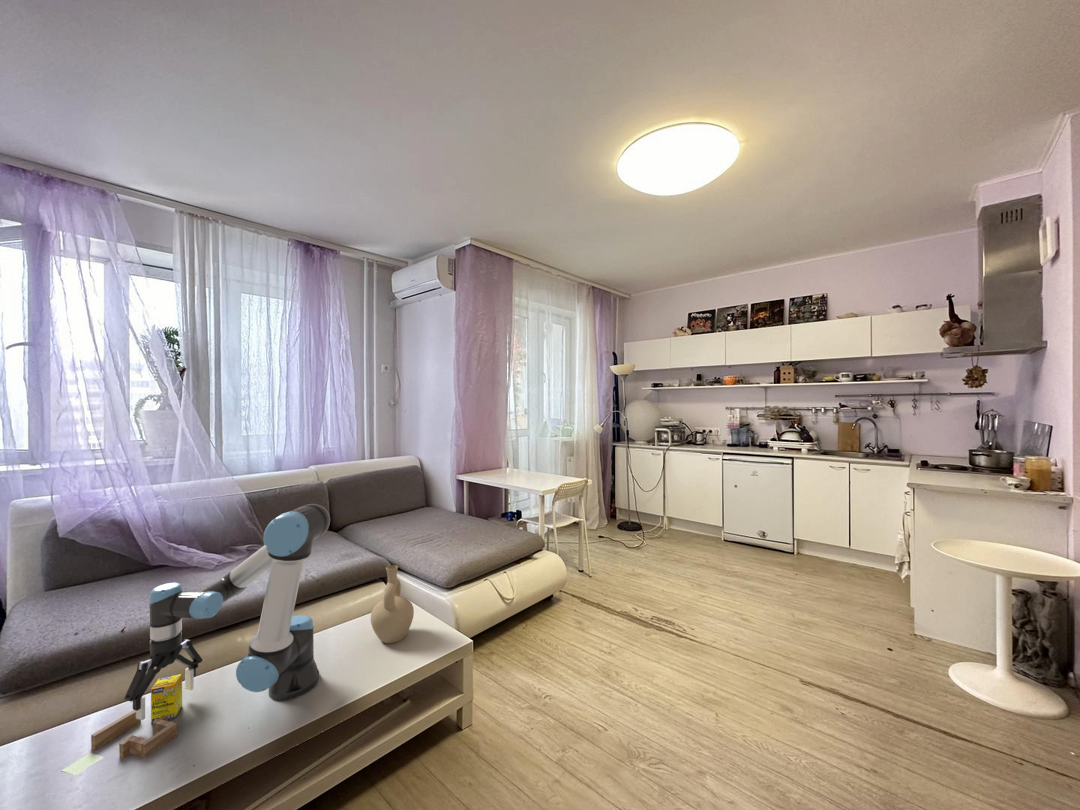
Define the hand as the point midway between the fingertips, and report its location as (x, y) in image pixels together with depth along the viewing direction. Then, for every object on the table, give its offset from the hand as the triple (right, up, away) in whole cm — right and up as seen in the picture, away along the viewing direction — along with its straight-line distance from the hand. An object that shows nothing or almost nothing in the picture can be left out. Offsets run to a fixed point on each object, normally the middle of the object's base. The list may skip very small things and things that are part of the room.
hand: (166, 703), depth 133 cm
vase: (+57, -3, +41) cm, 70 cm away
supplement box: (0, -4, 0) cm, 4 cm away
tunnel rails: (+1, -4, -10) cm, 11 cm away
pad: (-5, -4, -18) cm, 19 cm away
